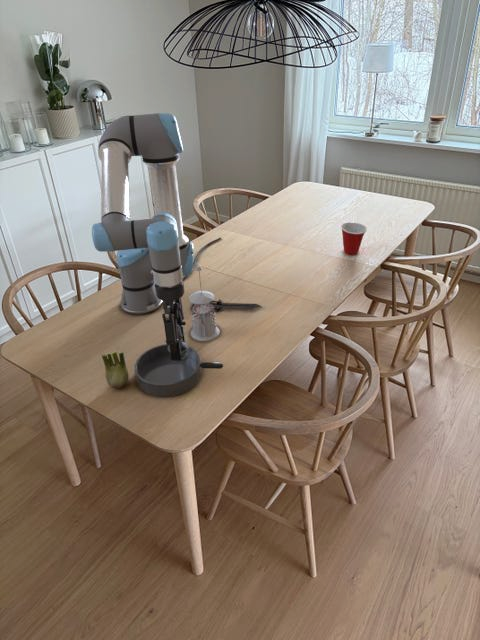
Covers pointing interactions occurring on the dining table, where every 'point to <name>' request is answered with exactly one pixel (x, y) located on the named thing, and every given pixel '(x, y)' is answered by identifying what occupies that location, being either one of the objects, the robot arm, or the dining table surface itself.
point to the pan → (167, 372)
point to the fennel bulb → (115, 369)
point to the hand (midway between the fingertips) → (178, 352)
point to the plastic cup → (352, 237)
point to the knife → (232, 305)
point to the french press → (203, 315)
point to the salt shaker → (182, 347)
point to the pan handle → (211, 365)
